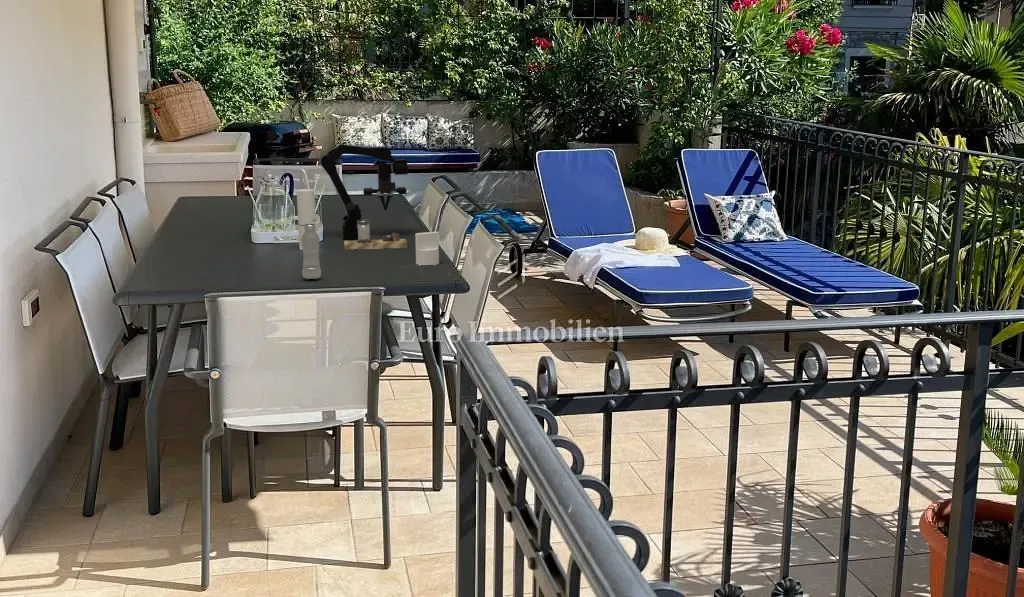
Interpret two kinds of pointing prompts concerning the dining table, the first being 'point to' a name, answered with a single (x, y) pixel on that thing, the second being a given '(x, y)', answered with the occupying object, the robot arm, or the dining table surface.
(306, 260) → the plastic bottle
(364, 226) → the grey metallic cylinder
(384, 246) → the dock
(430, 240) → the base with upright slab
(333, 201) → the dining table surface
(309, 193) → the cylindrical container
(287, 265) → the dining table surface
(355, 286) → the dining table surface
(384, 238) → the lock pin
